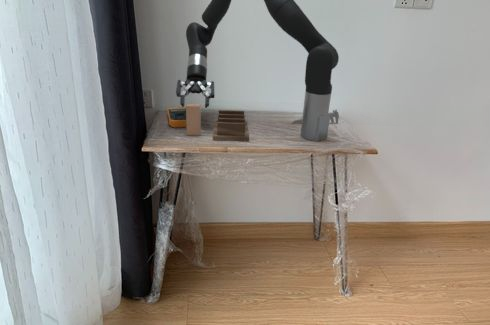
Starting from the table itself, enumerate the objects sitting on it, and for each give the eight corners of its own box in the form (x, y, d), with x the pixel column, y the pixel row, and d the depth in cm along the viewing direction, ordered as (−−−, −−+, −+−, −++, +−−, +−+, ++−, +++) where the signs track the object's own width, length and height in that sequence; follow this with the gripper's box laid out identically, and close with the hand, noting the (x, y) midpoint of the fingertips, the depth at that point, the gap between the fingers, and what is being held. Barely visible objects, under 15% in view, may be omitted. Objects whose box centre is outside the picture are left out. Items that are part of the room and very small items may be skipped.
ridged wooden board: (215, 123, 147) (215, 108, 144) (247, 124, 148) (247, 109, 145) (212, 140, 130) (213, 124, 127) (249, 141, 130) (249, 125, 128)
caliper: (336, 123, 155) (339, 109, 152) (337, 124, 154) (340, 109, 151) (290, 123, 152) (291, 108, 150) (291, 124, 151) (292, 109, 149)
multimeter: (170, 129, 139) (169, 120, 138) (167, 115, 155) (166, 107, 154) (192, 128, 141) (192, 119, 140) (187, 114, 157) (187, 106, 156)
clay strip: (187, 132, 136) (186, 104, 131) (200, 133, 136) (200, 104, 131) (186, 135, 133) (186, 106, 129) (200, 135, 134) (200, 106, 129)
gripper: (177, 62, 136) (173, 100, 130) (215, 64, 136) (213, 102, 131) (179, 74, 143) (176, 110, 137) (215, 75, 143) (214, 111, 138)
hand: (194, 106), depth 134 cm, fingers open, 8 cm apart
